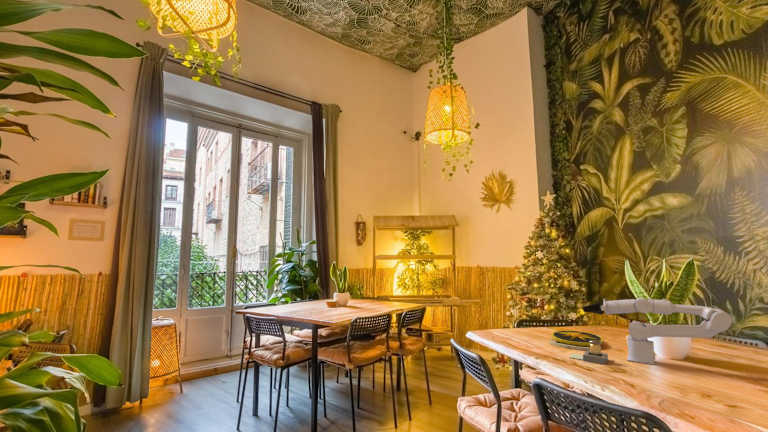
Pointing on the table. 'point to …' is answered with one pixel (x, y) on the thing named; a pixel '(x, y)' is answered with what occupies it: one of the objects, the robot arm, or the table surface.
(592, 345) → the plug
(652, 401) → the table surface
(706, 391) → the table surface
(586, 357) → the gray block
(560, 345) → the wall ornament
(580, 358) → the mat
